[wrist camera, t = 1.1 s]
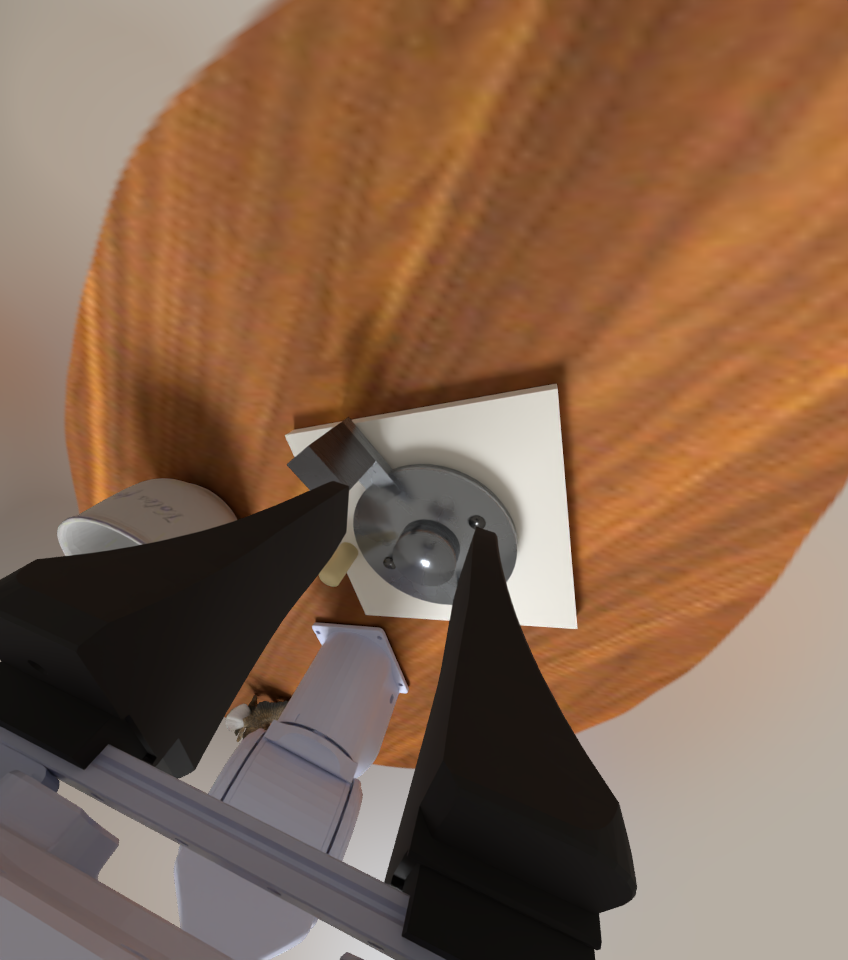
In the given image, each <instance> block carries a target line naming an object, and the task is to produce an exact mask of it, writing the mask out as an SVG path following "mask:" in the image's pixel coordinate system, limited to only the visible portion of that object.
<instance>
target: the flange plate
mask: <svg viewBox="0 0 848 960" xmlns="http://www.w3.org/2000/svg"><path fill="white" fill-rule="evenodd" d="M287 466H288V467H289V468H290V469H291V470H292V471H293V472H294V473H295V474H296V475H297V477H298V478H299V479H300V480H301V481H302V482H303V483H304V484H305V485H306V486H307V487H308V488H309V489H310V490H312V489H314V488H317V487H319V486H321V485H323V484H326V483H328V482H331V481H336V482H339V483H342V484H345V485H348V486H349V490H350V489H351V488H352V487H353V486H354V485H355V484H356V483H357V482H358V481H359V482H360V483H361V484H362V485H363V486H364V488H365V489H366V490H365V491H364V493H363V494H362V495H361V497H360V499H359V500H358V503H357V505H356V508H355V512H354V517H353V528H354V534H355V538H356V542H357V544H358V547H359V549H360V551H361V553H362V555H363V557H364V558H365V560H366V561H367V562H368V564H369V565H370V566H371V567H372V569H373V570H374V571H375V572H376V573H377V574H378V575H379V576H380V577H381V578H383V579H384V580H385V581H386V582H388V583H389V584H390V585H392V586H393V587H395V588H396V589H398V590H400V591H402V592H404V593H405V594H408V595H410V596H412V597H415V598H418V599H420V600H423V601H427V602H431V603H437V604H445V605H452V604H453V599H454V595H455V592H456V588H457V585H458V581H459V578H460V574H461V571H462V568H463V565H464V562H465V559H466V556H467V553H468V550H469V547H470V544H471V541H472V538H473V535H474V532H475V529H476V527H479V528H482V529H485V530H488V531H491V532H494V533H496V535H497V537H498V547H499V553H500V558H501V563H502V568H503V572H504V576H505V580H506V582H507V581H508V579H509V578H510V576H511V575H512V572H513V570H514V568H515V563H516V559H517V543H518V540H517V533H516V529H515V526H514V522H513V520H512V518H511V516H510V514H509V512H508V510H507V509H506V507H505V506H504V504H503V503H502V502H501V501H500V500H499V498H498V497H497V496H496V495H495V494H494V493H493V492H492V491H491V490H490V489H488V488H487V487H486V486H485V485H483V484H482V483H480V482H479V481H478V480H476V479H474V478H472V477H470V476H469V475H467V474H465V473H462V472H460V471H457V470H455V469H451V468H448V467H444V466H439V465H433V464H411V465H405V466H401V467H397V468H394V469H392V468H391V467H390V466H389V464H388V463H387V462H386V461H385V460H384V458H383V457H382V456H381V455H380V454H379V452H378V451H377V450H376V449H375V448H374V446H373V445H372V444H371V443H370V442H369V440H368V439H367V438H366V437H365V436H364V435H363V433H362V432H361V431H360V430H359V429H358V427H357V426H356V425H355V424H354V423H353V421H352V420H351V419H350V418H349V417H348V418H346V419H345V420H343V421H342V422H341V423H339V424H338V425H336V426H335V427H334V428H332V429H331V430H329V431H328V432H327V433H325V434H324V435H322V436H321V437H320V438H318V439H317V440H315V441H314V442H313V443H311V444H310V445H308V446H307V447H306V448H305V449H304V450H303V451H301V452H300V453H299V454H298V455H297V456H296V457H295V458H293V459H292V460H291V461H290V462H289V463H288V464H287Z"/></svg>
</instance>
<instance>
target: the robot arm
mask: <svg viewBox="0 0 848 960" xmlns="http://www.w3.org/2000/svg"><path fill="white" fill-rule="evenodd" d="M348 501H349V486H348V485H345V484H342V483H339V482H336V481H331V482H328V483H326V484H323V485H321V486H319V487H317V488H314V489H312V490H310V491H308V492H305V493H303V494H301V495H299V496H296V497H294V498H292V499H290V500H287V501H285V502H283V503H280V504H278V505H276V506H273V507H270V508H268V509H265V510H263V511H260V512H258V513H255V514H252V515H250V516H247V517H245V518H242V519H239V520H236V521H233V522H230V523H227V524H223V525H220V526H217V527H213V528H210V529H207V530H203V531H200V532H196V533H191V534H187V535H183V536H179V537H175V538H171V539H166V540H162V541H158V542H153V543H148V544H142V545H137V546H132V547H126V548H120V549H114V550H108V551H101V552H94V553H86V554H78V555H70V556H63V557H54V558H45V559H37V560H35V561H33V562H31V563H29V564H27V565H26V566H24V567H22V568H20V569H18V570H17V571H15V572H13V573H11V574H10V575H8V576H6V577H5V578H2V579H1V580H0V660H1V662H0V960H270V959H272V958H274V957H276V956H278V955H280V954H282V953H283V952H285V951H287V950H289V949H291V948H293V947H295V946H296V945H298V944H299V943H301V942H302V941H303V940H304V939H305V937H306V936H307V934H308V933H309V931H310V929H312V928H313V927H314V925H315V924H316V922H317V920H318V919H320V920H322V921H324V922H326V923H328V924H330V925H331V926H333V927H335V928H337V929H339V930H341V931H343V932H344V933H346V934H348V935H350V936H352V937H354V938H356V939H358V940H359V941H361V942H363V943H365V944H367V945H369V946H371V947H373V948H375V949H376V950H378V951H380V952H382V953H384V954H386V955H387V956H389V957H391V958H393V959H395V960H595V954H594V953H595V952H594V949H595V950H599V949H601V943H602V941H601V930H600V920H599V913H601V912H604V911H607V910H610V909H613V908H616V907H619V906H622V905H624V904H626V903H628V902H629V901H630V900H632V899H633V897H634V896H635V895H636V890H637V885H636V877H635V871H634V866H633V859H632V853H631V849H630V845H629V840H628V836H627V832H626V828H625V824H624V820H623V817H622V813H621V809H620V805H619V802H618V801H617V799H616V798H615V796H614V795H613V793H612V792H611V790H610V789H609V787H608V786H607V784H606V783H605V781H604V780H603V778H602V777H601V775H600V774H599V772H598V770H597V769H596V767H595V766H594V765H593V763H592V762H591V760H590V759H589V757H588V755H587V754H586V752H585V750H584V749H583V748H582V746H581V744H580V742H579V741H578V739H577V737H576V736H575V734H574V732H573V731H572V729H571V727H570V725H569V724H568V722H567V720H566V719H565V717H564V715H563V713H562V712H561V710H560V708H559V706H558V704H557V702H556V700H555V698H554V697H553V695H552V693H551V691H550V689H549V687H548V685H547V683H546V682H545V680H544V678H543V676H542V674H541V672H540V670H539V668H538V666H537V663H536V661H535V659H534V657H533V655H532V653H531V650H530V648H529V646H528V643H527V641H526V639H525V636H524V634H523V631H522V629H521V626H520V624H519V621H518V618H517V615H516V612H515V610H514V607H513V604H512V601H511V597H510V594H509V591H508V587H507V583H506V580H505V576H504V572H503V568H502V563H501V558H500V553H499V547H498V537H497V535H496V533H494V532H491V531H488V530H485V529H482V528H479V527H476V529H475V532H474V535H473V538H472V541H471V544H470V547H469V550H468V553H467V556H466V559H465V562H464V565H463V568H462V571H461V574H460V578H459V581H458V585H457V588H456V592H455V595H454V599H453V604H452V610H451V615H450V621H449V627H448V633H447V638H446V644H445V650H444V656H443V662H442V667H441V672H440V677H439V682H438V686H437V690H436V693H435V697H434V701H433V705H432V708H431V712H430V716H429V720H428V724H427V727H426V731H425V735H424V739H423V742H422V746H421V750H420V753H419V757H418V761H417V765H416V768H415V772H414V776H413V780H412V783H411V787H410V791H409V794H408V798H407V801H406V805H405V809H404V812H403V816H402V820H401V823H400V827H399V831H398V834H397V838H396V841H395V845H394V849H393V852H392V856H391V860H390V863H389V867H388V870H387V874H386V878H385V882H382V881H380V880H378V879H376V878H374V877H371V876H370V875H368V874H366V873H364V872H362V871H360V870H358V869H356V868H354V867H352V866H350V865H348V864H346V863H344V862H342V860H343V857H344V855H345V852H346V850H347V847H348V844H349V841H350V839H351V835H352V833H353V830H354V827H355V823H356V821H357V817H358V814H359V810H360V806H361V802H362V796H363V794H362V790H361V783H360V781H359V780H358V779H356V778H357V777H359V776H361V775H362V774H363V773H364V772H365V771H366V770H367V769H368V768H369V767H370V766H371V765H372V763H373V762H374V760H375V759H376V757H377V755H378V753H379V750H380V747H381V745H382V742H383V739H384V736H385V733H386V730H387V727H388V724H389V721H390V718H391V715H392V712H393V709H394V706H395V703H396V700H397V698H398V695H399V693H407V692H408V690H409V688H408V685H407V683H406V681H405V678H404V676H403V674H402V671H401V669H400V667H399V665H398V662H397V660H396V658H395V655H394V653H393V651H392V648H391V646H390V644H389V641H388V639H387V637H386V634H385V632H384V630H383V629H381V628H379V627H367V626H354V625H342V624H329V623H314V624H313V626H312V628H313V630H314V632H315V634H316V635H317V637H318V639H319V641H320V643H321V644H322V647H321V648H320V650H319V652H318V653H317V655H316V657H315V659H314V660H313V662H312V664H311V665H310V667H309V669H308V670H307V672H306V674H305V675H304V677H303V679H302V680H301V682H300V684H299V685H298V687H297V689H296V690H295V692H294V694H293V695H292V697H291V699H290V701H289V702H288V704H287V706H286V707H285V709H284V711H283V712H282V714H281V716H280V717H279V719H278V721H277V720H273V721H272V723H271V725H270V726H269V728H268V730H267V731H266V730H264V729H262V728H259V729H257V730H256V731H254V732H252V733H250V734H248V735H247V736H246V737H245V738H244V739H243V740H242V742H241V743H240V744H239V746H238V747H237V748H236V750H235V751H234V753H233V754H232V755H231V757H230V758H229V760H228V761H227V763H226V764H225V766H224V767H223V769H222V771H221V772H220V774H219V776H218V777H217V779H216V781H215V782H214V784H213V786H212V787H211V789H210V791H209V793H208V794H207V793H205V792H203V791H201V790H199V789H197V788H195V787H193V786H191V785H189V784H187V783H185V782H183V781H181V780H179V779H178V778H181V777H183V776H185V775H188V774H189V773H191V772H192V771H194V770H195V769H196V767H197V765H198V763H199V761H200V759H201V758H202V756H203V754H204V752H205V750H206V748H207V747H208V745H209V743H210V741H211V739H212V737H213V735H214V734H215V732H216V730H217V728H218V727H219V725H220V723H221V721H222V719H223V717H224V716H225V714H226V712H227V710H228V709H229V707H230V705H231V704H232V702H233V700H234V698H235V697H236V695H237V693H238V692H239V690H240V688H241V686H242V685H243V683H244V681H245V680H246V678H247V676H248V675H249V673H250V671H251V670H252V668H253V666H254V665H255V663H256V662H257V660H258V658H259V657H260V655H261V653H262V652H263V650H264V649H265V647H266V645H267V644H268V642H269V641H270V639H271V638H272V636H273V635H274V633H275V631H276V630H277V628H278V627H279V625H280V624H281V622H282V621H283V619H284V618H285V617H286V615H287V614H288V612H289V611H290V610H291V608H292V607H293V606H294V605H295V603H296V602H297V601H298V600H299V598H300V597H301V596H302V594H303V593H304V592H305V591H306V589H307V588H308V587H309V586H310V584H311V583H312V582H313V581H314V579H315V578H316V577H317V576H318V574H319V573H320V572H321V570H322V569H323V568H324V567H325V565H326V564H327V563H328V561H329V560H330V559H331V557H332V556H333V554H334V553H335V551H336V549H337V548H338V546H339V544H340V543H341V541H342V539H343V537H344V536H345V534H346V532H347V516H348ZM58 779H59V780H61V781H63V782H65V783H66V784H68V785H70V786H72V787H74V788H76V789H78V790H79V791H81V792H83V793H85V794H87V795H89V796H91V797H93V798H94V799H96V800H98V801H100V802H102V803H104V804H106V805H107V806H109V807H111V808H113V809H115V810H117V811H119V812H121V813H122V814H124V815H126V816H128V817H130V818H132V819H134V820H135V821H137V822H139V823H141V824H143V825H145V826H147V827H149V828H150V829H152V830H154V831H156V832H158V833H160V834H162V835H163V836H165V837H167V838H169V839H171V840H173V841H175V842H177V843H178V844H180V847H179V851H178V855H177V858H176V861H175V866H174V881H175V888H176V895H177V903H178V911H179V918H180V927H181V928H179V927H177V926H175V925H174V924H172V923H170V922H168V921H167V920H165V919H163V918H162V917H160V916H158V915H156V914H155V913H153V912H151V911H149V910H147V909H146V908H144V907H143V906H141V905H139V904H137V903H136V902H134V901H132V900H130V899H129V898H127V897H125V896H124V895H122V894H120V893H118V892H116V891H115V890H113V889H111V888H110V887H108V886H106V885H105V884H103V883H101V882H99V881H98V874H99V871H100V870H101V868H102V867H103V866H104V864H105V863H106V862H107V860H108V859H109V858H110V856H111V855H112V854H113V852H114V851H115V850H116V848H117V847H118V845H119V839H118V838H116V837H115V836H114V835H112V834H111V833H109V832H108V831H107V830H105V829H104V828H102V827H101V826H100V825H99V824H98V823H96V822H95V821H94V820H93V819H91V818H90V817H89V816H88V815H87V814H86V813H85V812H84V810H83V809H82V808H80V807H78V806H77V805H75V804H74V803H72V802H70V801H69V800H67V799H66V798H64V797H62V796H61V795H59V794H58V793H57V791H58V789H59V780H58ZM340 960H364V959H361V958H359V957H357V956H355V955H352V954H350V953H348V952H346V953H345V954H344V955H343V956H341V958H340Z"/></svg>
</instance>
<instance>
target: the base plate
mask: <svg viewBox="0 0 848 960" xmlns="http://www.w3.org/2000/svg"><path fill="white" fill-rule="evenodd" d="M352 421H353V423H354V424H355V425H356V426H357V427H358V429H359V430H360V431H361V432H362V433H363V435H364V436H365V437H366V438H367V439H368V440H369V442H370V443H371V444H372V445H373V446H374V448H375V449H376V450H377V451H378V452H379V454H380V455H381V456H382V457H383V458H384V460H385V461H386V462H387V463H388V464H389V466H390V467H391V468H392V469H394V468H397V467H401V466H405V465H411V464H433V465H439V466H444V467H448V468H451V469H455V470H457V471H460V472H462V473H465V474H467V475H469V476H470V477H472V478H474V479H476V480H478V481H479V482H480V483H482V484H483V485H485V486H486V487H487V488H488V489H490V490H491V491H492V492H493V493H494V494H495V495H496V496H497V497H498V498H499V500H500V501H501V502H502V503H503V504H504V506H505V507H506V509H507V510H508V512H509V514H510V516H511V518H512V520H513V522H514V526H515V529H516V533H517V540H518V543H517V559H516V563H515V568H514V570H513V572H512V575H511V576H510V578H509V579H508V581H507V582H506V583H507V587H508V591H509V594H510V597H511V601H512V604H513V607H514V610H515V612H516V615H517V618H518V621H519V624H520V625H525V626H541V627H556V628H571V629H577V619H576V606H575V594H574V582H573V570H572V558H571V546H570V533H569V521H568V509H567V497H566V485H565V472H564V460H563V448H562V436H561V424H560V412H559V399H558V388H557V384H551V385H546V386H540V387H534V388H529V389H523V390H517V391H512V392H506V393H500V394H495V395H489V396H483V397H478V398H472V399H466V400H460V401H455V402H449V403H443V404H438V405H432V406H426V407H421V408H415V409H409V410H404V411H398V412H392V413H387V414H381V415H375V416H369V417H364V418H358V419H352ZM341 422H342V421H341ZM341 422H335V423H330V424H324V425H318V426H313V427H307V428H301V429H296V430H293V431H291V432H289V433H288V434H286V435H285V437H286V439H287V441H288V443H289V446H290V448H291V450H292V452H293V455H294V457H296V456H297V455H298V454H299V453H300V452H301V451H303V450H304V449H305V448H306V447H307V446H308V445H310V444H311V443H313V442H314V441H315V440H317V439H318V438H320V437H321V436H322V435H324V434H325V433H327V432H328V431H329V430H331V429H332V428H334V427H335V426H336V425H338V424H339V423H341ZM309 490H310V489H309ZM365 490H366V489H365V488H364V486H363V485H362V484H361V483H360V482H359V481H358V482H357V483H356V484H355V485H354V486H353V487H352V488H351V489H350V490H349V501H348V516H347V532H346V534H345V536H344V537H343V539H342V541H341V543H340V544H339V546H338V548H337V549H336V551H335V553H334V554H333V556H332V557H331V559H330V560H329V561H328V563H327V564H326V565H325V567H324V568H323V569H322V570H321V572H320V573H319V577H320V579H321V581H322V582H323V583H325V584H326V585H328V586H331V587H336V586H338V585H339V583H340V582H341V580H342V579H343V577H344V576H345V574H346V573H347V574H348V576H349V579H350V581H351V583H352V585H353V588H354V590H355V592H356V594H357V596H358V599H359V601H360V603H361V605H362V607H363V610H364V612H365V614H366V615H373V616H388V617H404V618H419V619H434V620H449V621H450V615H451V610H452V605H445V604H437V603H431V602H427V601H423V600H420V599H418V598H415V597H412V596H410V595H408V594H405V593H404V592H402V591H400V590H398V589H396V588H395V587H393V586H392V585H390V584H389V583H388V582H386V581H385V580H384V579H383V578H381V577H380V576H379V575H378V574H377V573H376V572H375V571H374V570H373V569H372V567H371V566H370V565H369V564H368V562H367V561H366V560H365V558H364V557H363V555H362V553H361V551H360V549H359V547H358V544H357V542H356V538H355V534H354V528H353V517H354V512H355V508H356V505H357V503H358V500H359V499H360V497H361V495H362V494H363V493H364V491H365Z"/></svg>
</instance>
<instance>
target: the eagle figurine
mask: <svg viewBox="0 0 848 960" xmlns="http://www.w3.org/2000/svg"><path fill="white" fill-rule="evenodd" d="M288 702H289V701H284V702H277V703H276V702H274V703H273V702H271V703H269V701H268V702H267V701H263V702H259V704H257V696H256V694H255V695H254V696H253V699H252V701H251V702H250V704H249V705H248V706H247V705H246V704H241V705H239V706H237V707H236V708H233V709H232V710H231V712H230V713H229V714H228V715H227V718H226V726H227V728H228V730H229V731H234V730H235V734H236V736H237V735H238V733H239V732H240V733H239V736H238V738H237V742H239V741H240V739H241V738H242V736H243V739H244V738H245V737H246V736H247V735H248V734H250V733H252V732H254V731H256V730H257V729H259V728H262V729H264V730H266V731H267V730H268V728H269V726H270V724H271V723H272V721H273V720H277V721H278V719H279V717H280V716H281V714H282V712H283V711H284V709H285V707H286V706H287V704H288ZM245 727H246V730H245V732H244V729H245ZM243 732H244V733H243Z"/></svg>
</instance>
